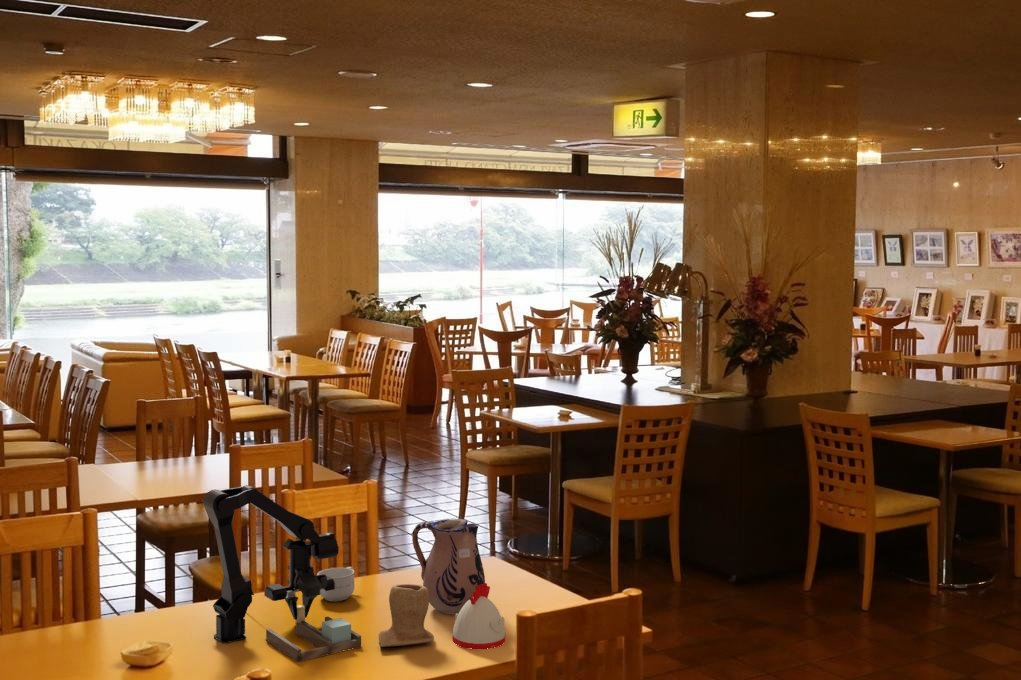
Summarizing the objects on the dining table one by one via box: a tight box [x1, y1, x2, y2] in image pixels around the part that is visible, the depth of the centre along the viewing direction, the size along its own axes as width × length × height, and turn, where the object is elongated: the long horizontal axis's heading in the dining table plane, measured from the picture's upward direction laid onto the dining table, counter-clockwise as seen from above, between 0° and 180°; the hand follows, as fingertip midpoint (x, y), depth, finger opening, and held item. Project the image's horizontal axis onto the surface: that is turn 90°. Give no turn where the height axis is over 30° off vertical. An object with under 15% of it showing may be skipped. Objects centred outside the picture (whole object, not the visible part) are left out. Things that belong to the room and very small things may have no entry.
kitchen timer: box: [452, 582, 506, 650], centre depth 293 cm, size 14×14×15 cm
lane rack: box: [265, 616, 362, 663], centre depth 288 cm, size 18×18×3 cm
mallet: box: [294, 604, 352, 644], centre depth 295 cm, size 6×24×6 cm, turn 37°
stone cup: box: [378, 583, 435, 648], centre depth 290 cm, size 15×12×15 cm
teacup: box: [316, 566, 355, 602], centre depth 326 cm, size 14×11×8 cm
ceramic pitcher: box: [411, 518, 486, 615], centre depth 316 cm, size 18×21×25 cm
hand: (300, 618), depth 304 cm, fingers closed on mallet, 3 cm apart
